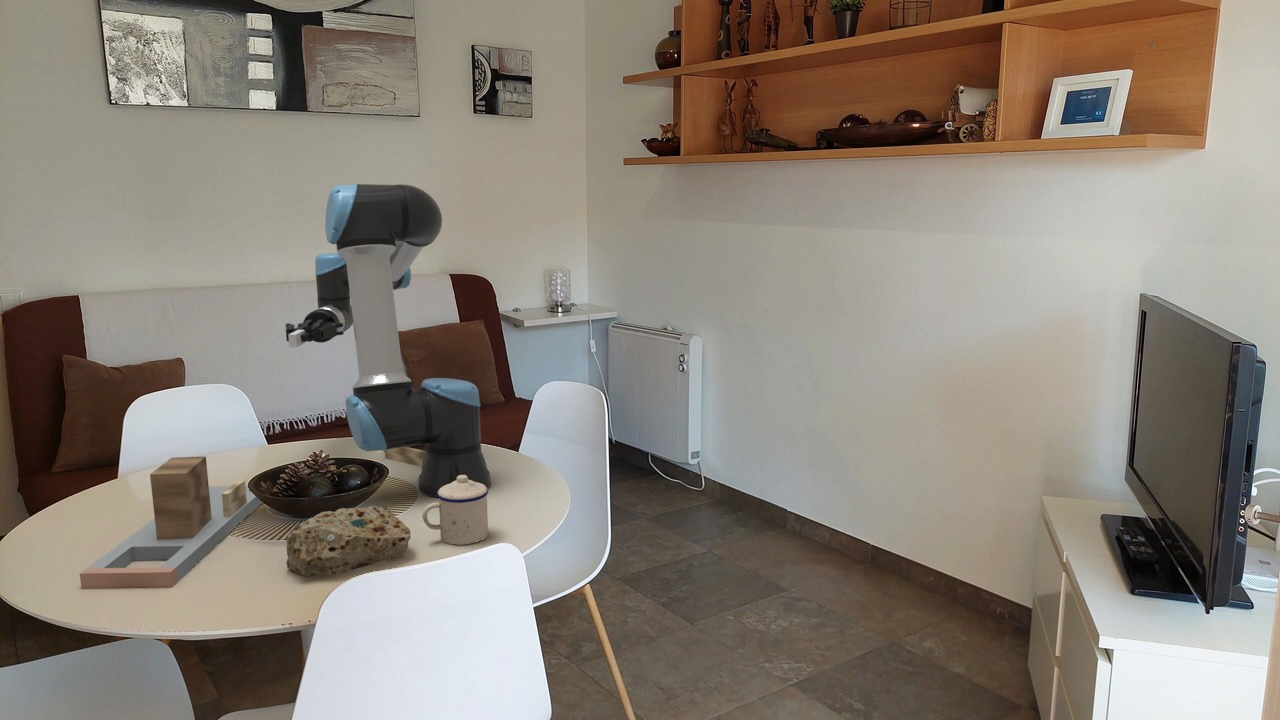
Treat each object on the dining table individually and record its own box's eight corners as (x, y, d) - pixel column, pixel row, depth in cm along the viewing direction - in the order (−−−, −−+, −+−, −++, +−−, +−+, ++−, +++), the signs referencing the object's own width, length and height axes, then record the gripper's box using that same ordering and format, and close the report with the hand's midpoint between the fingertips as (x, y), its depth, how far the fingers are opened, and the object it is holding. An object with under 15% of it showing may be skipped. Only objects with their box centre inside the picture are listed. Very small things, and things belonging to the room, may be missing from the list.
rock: (387, 538, 172) (395, 490, 169) (417, 581, 161) (426, 531, 158) (272, 553, 159) (279, 502, 156) (297, 600, 149) (304, 547, 146)
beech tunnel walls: (177, 503, 180) (175, 481, 180) (246, 502, 181) (244, 480, 180) (157, 517, 173) (155, 494, 172) (230, 516, 173) (228, 494, 172)
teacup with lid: (481, 524, 176) (479, 465, 174) (495, 540, 168) (493, 479, 166) (418, 535, 170) (415, 474, 168) (430, 552, 162) (427, 489, 160)
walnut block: (177, 519, 172) (171, 457, 169) (211, 518, 172) (205, 456, 170) (157, 539, 162) (149, 474, 160) (192, 538, 163) (186, 473, 160)
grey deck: (198, 498, 191) (197, 486, 190) (268, 497, 191) (267, 485, 191) (81, 588, 149) (79, 573, 148) (172, 586, 149) (170, 572, 148)
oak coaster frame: (473, 451, 224) (472, 437, 223) (425, 467, 211) (425, 452, 210) (433, 442, 231) (432, 429, 230) (384, 458, 218) (384, 443, 218)
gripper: (353, 339, 215) (325, 358, 192) (296, 340, 215) (261, 359, 191) (351, 307, 214) (323, 322, 191) (294, 308, 213) (258, 323, 190)
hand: (292, 341), depth 191 cm, fingers closed
